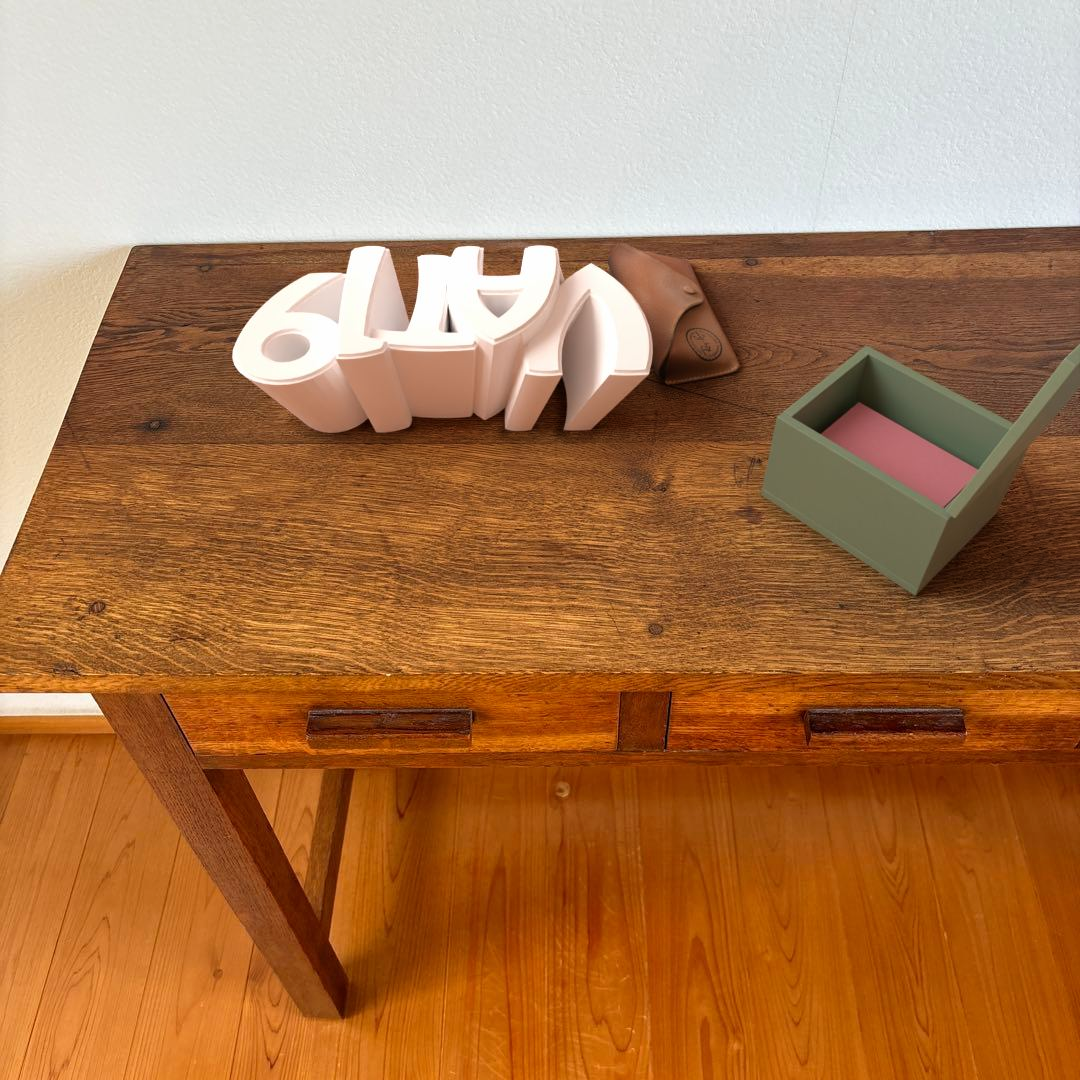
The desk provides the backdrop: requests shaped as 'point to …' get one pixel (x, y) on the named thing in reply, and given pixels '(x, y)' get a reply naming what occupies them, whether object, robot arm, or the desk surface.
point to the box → (870, 494)
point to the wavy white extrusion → (446, 343)
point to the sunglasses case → (674, 316)
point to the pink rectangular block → (901, 454)
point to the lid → (1024, 429)
